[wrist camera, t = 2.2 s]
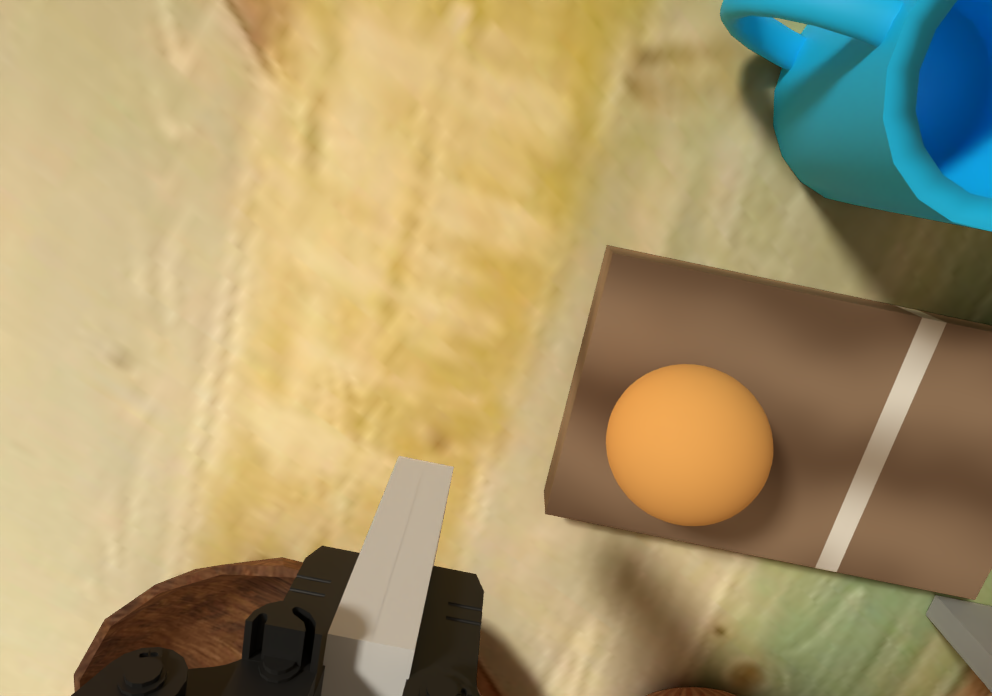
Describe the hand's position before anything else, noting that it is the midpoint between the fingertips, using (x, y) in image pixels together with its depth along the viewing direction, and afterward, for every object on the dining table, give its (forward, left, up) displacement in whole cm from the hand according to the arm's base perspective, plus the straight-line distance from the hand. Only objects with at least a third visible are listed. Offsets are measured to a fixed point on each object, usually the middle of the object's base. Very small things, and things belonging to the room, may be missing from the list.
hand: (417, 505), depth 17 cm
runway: (0, +15, -12) cm, 19 cm away
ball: (0, +9, -7) cm, 11 cm away
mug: (-14, +12, -12) cm, 22 cm away
